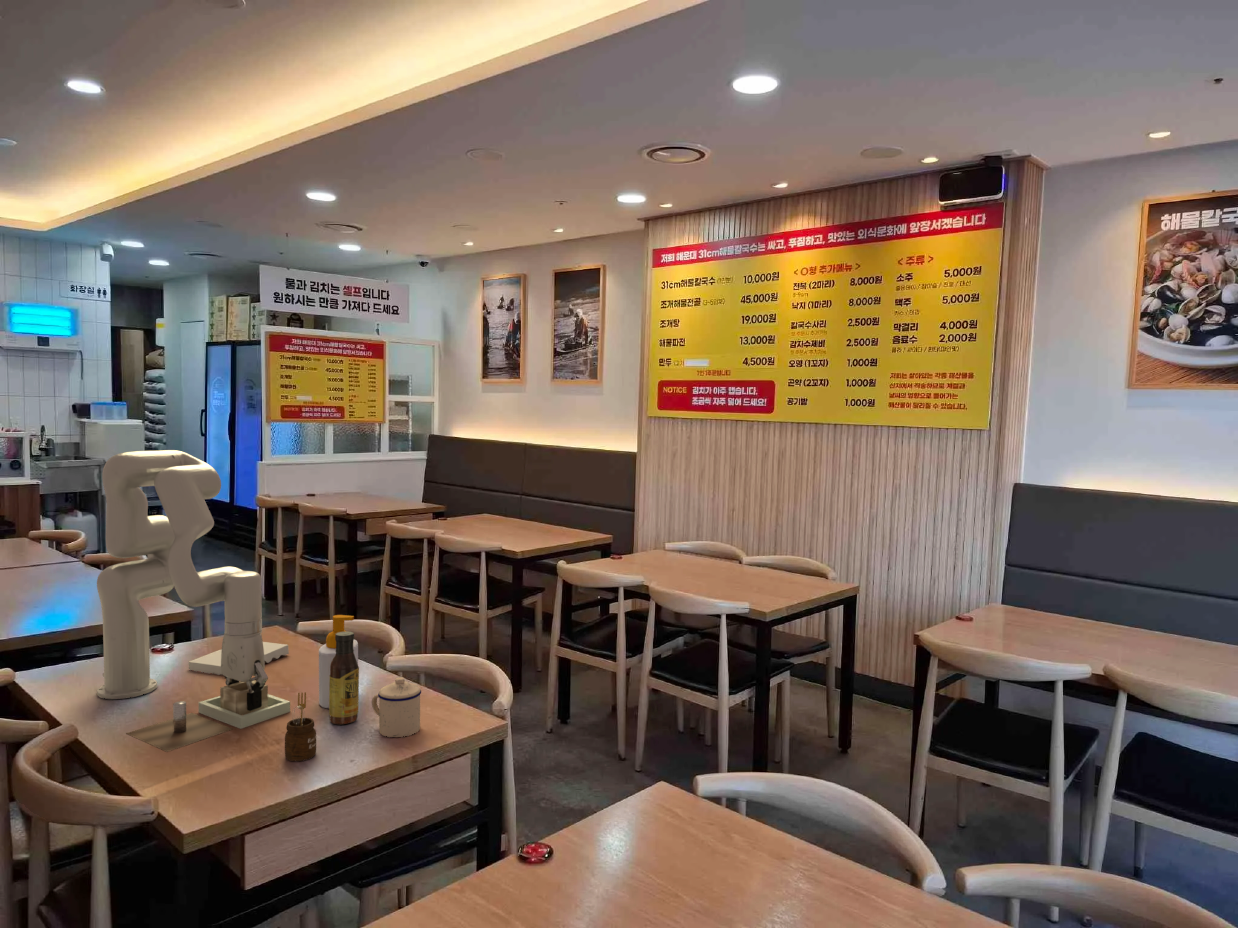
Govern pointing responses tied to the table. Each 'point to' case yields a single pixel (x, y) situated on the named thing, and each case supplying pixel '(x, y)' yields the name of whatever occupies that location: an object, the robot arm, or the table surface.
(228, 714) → the tray
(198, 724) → the stake board
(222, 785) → the table surface
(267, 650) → the cream wavy-edged slab
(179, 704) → the cylinder
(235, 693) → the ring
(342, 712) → the sauce bottle
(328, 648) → the soap bottle
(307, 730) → the utensil holder
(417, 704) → the teacup with lid
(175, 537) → the robot arm
